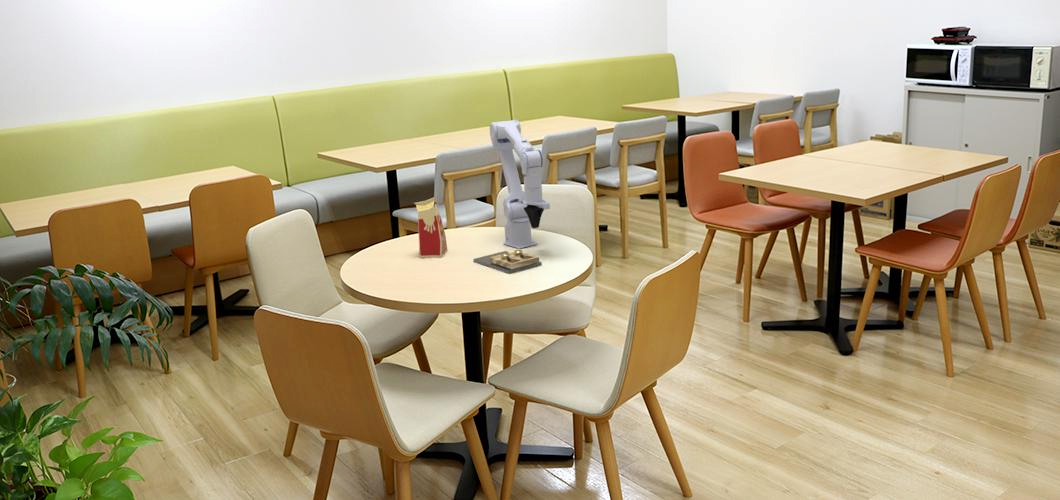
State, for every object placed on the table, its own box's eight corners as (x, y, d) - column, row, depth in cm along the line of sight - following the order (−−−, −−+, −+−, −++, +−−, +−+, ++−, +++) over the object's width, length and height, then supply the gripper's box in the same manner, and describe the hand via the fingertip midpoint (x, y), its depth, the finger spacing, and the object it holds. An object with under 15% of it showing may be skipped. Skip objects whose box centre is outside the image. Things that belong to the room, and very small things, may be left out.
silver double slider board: (473, 261, 297) (472, 249, 296) (505, 253, 305) (504, 241, 304) (508, 273, 282) (508, 261, 281) (541, 265, 289) (540, 252, 288)
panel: (489, 262, 291) (489, 257, 291) (517, 255, 297) (516, 250, 297) (511, 269, 282) (511, 264, 281) (539, 261, 288) (539, 257, 288)
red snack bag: (447, 250, 313) (442, 194, 308) (442, 257, 305) (437, 200, 299) (422, 251, 314) (416, 195, 309) (416, 258, 306) (410, 200, 300)
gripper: (510, 186, 299) (512, 226, 302) (536, 192, 287) (539, 233, 291) (527, 183, 303) (529, 222, 306) (554, 188, 291) (556, 229, 295)
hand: (535, 227), depth 299 cm, fingers closed
